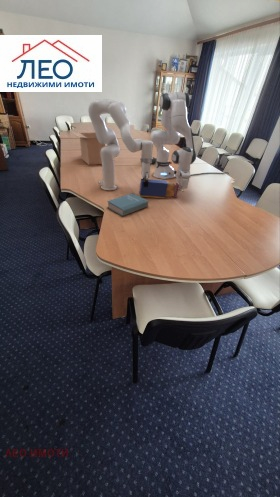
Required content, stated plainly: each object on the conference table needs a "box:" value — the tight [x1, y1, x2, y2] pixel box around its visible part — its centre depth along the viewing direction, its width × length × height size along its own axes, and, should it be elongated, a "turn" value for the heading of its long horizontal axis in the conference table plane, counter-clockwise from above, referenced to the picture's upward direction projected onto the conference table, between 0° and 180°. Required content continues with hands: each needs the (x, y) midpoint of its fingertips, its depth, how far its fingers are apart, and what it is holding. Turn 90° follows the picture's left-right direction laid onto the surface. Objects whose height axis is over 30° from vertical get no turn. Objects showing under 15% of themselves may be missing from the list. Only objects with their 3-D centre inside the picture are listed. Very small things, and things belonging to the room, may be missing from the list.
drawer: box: [165, 182, 185, 198], centre depth 169 cm, size 23×5×10 cm, turn 97°
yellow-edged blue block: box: [138, 178, 169, 199], centre depth 167 cm, size 20×6×12 cm, turn 97°
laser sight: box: [139, 156, 157, 165], centre depth 240 cm, size 10×22×10 cm, turn 78°
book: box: [107, 192, 149, 217], centre depth 151 cm, size 23×16×5 cm
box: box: [70, 129, 106, 166], centre depth 229 cm, size 44×36×27 cm
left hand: (145, 184), depth 165 cm, fingers closed on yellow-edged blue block, 6 cm apart
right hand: (180, 189), depth 170 cm, fingers closed, pressing on drawer
